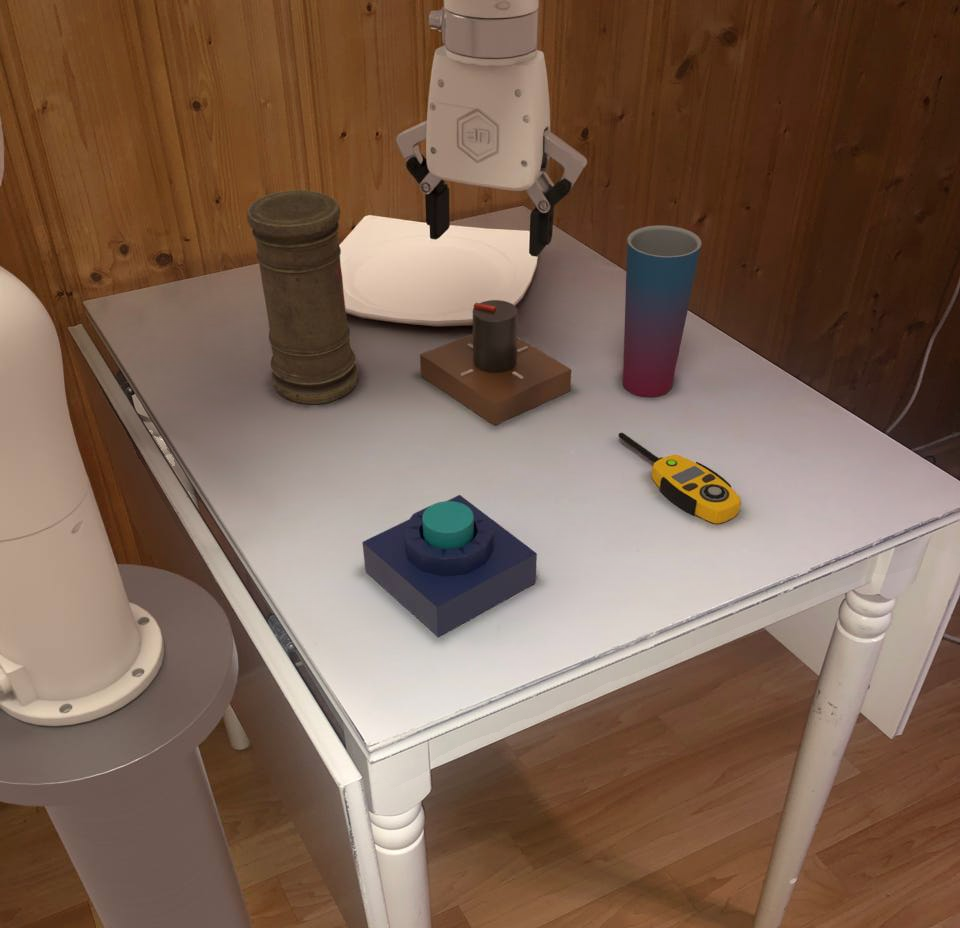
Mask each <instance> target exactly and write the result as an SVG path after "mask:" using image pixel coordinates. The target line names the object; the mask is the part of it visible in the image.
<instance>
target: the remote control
mask: <svg viewBox="0 0 960 928" xmlns="http://www.w3.org/2000/svg"><path fill="white" fill-rule="evenodd" d="M618 438H619V439H620V440H621V441H623V442H624V443H626V444H627V445H628V446H630V447H631V448H633V449H634V450H636V451H637V452H638V453H640V454H641V455H643V456H644V457H645V458H647V459H648V460H649V461H651V462H652V463H653V465H652V467H651V469H652V470H651V479H652V480H653V482H654V483H655V485H656V486H657V487H658V488H659V491H660V492H661V493H662V494H663V496H664V497H665V498H667V499H668V500H669V501H670V502H671V503H672V504H674V505H675V506H677V507H678V508H679V509H681V510H683V512H684V511H685V512H686V513H688V514H690V515H691V516H698V517H699V518H701V519H703V520H706V521H707V522H710V523H712V524H722V523H725V522H727V521H730V520H731V519H734V518H735V517H736V516H737V515H738V514H739V513H740V509H741V507H742V506H741V505H742V499H741V498H740V496H739V494H738V493H737V492H736V490H734V488H732V485H731V484H730V483H729V482H728V481H727V480H726V479H725V478H724V477H723V476H721V475H720V474H718V473H717V472H716V471H714V470H713V469H711V468H709V467H708V466H706V465H705V464H702V463H701V462H698V461H696V462H694V461H693V460H691V459H688V458H687V457H684V456H682V455H679V454H670V455H667V456H664V457H658V456H656V455H655V454H654V453H652V452H651V451H649V450H648V449H647V448H645V447H643V446H642V445H641V444H640V443H638V442H637V441H635V440H634V439H632V438H631V437H630V436H628V435H627V434H625V433H624V432H619V433H618Z"/></svg>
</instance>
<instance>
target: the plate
mask: <svg viewBox="0 0 960 928" xmlns="http://www.w3.org/2000/svg"><path fill="white" fill-rule="evenodd" d="M529 237H530V230H523V229H522V230H521V229H520V230H519V229H501V228H486V227H484V228H482V227H474V226H466V225H465V226H464V225H453V224H450V226H449V229H448V230H447V231H446V232H445V233H444V234H443V235H442V236H441V237H440V238H438V239H436V240H435V239H431V238H430V225H427V224H426V222H421V221H415V220H407V219H400V218H394V217H385V216H380V215H379V216H378V215H371V214H368V215H365V216H364V217H363V218H362V219H361V220H360V221H359V222H358V223H357V224H356V226H355V227H354V228H353V229H352V230H351V231H350V232H349V234H348V235H347V236H346V237H345V238H344V239H343V240H342V241H341V243H340V244H339V246H340V249H341V254H340V264H341V272H342V280H343V291H344V301H345V310H346V315H347V314H348V315H350V316H354V317H357V318H361V319H368V320H375V321H383V322H388V323H389V322H391V323H397V324H398V323H399V324H409V325H417V326H418V325H419V326H429V327H460V326H473V308H474V304H475V303H481V302H485V301H490V300H501V301H506V302H509V303H511V304H513V305H514V306H516V305H517V304H518V303H519V302H520V301H521V300H522V299H523V298H524V296H525V294H526V292H527V290H528V289H529V287H530V285H531V283H532V281H533V278H534V276H535V275H534V274H535V272H536V269H537V267H538V259H539V258H538V257H539V255H538V256H537V257H535V256H531V254H529Z"/></svg>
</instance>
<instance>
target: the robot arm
mask: <svg viewBox="0 0 960 928" xmlns="http://www.w3.org/2000/svg"><path fill="white" fill-rule="evenodd" d="M539 4H540V0H443V6H442V7H441V9H439V10H433V9H432V10H431V11H430V12H429V16H428V26H429V29H431V30H437V32H438V33H441V43H442V44H444V45H441V46H440V47H438V48H436V49H435V50H434V55H433V60H432V65H431V72H430V81H429V90H428V100H427V113H426V115H427V116H426V120H424V121H422V122H420V123H418V124H415V125H413V126H411V127H409V128H407V129H405V130H403V131H401V132H400V133H399V134H398V135H397V136H396V137H395V143H396V145H397V148H398V150H399V152H400V154H401V156H402V158H403V160H404V161H405V168H406V169H407V171H408V172H409V173H410V175H411V176H412V177H413V179H415V182H417V183H418V184H419V191H420V192H421V193H422V194H423V195H424V196H425V197H424V198H425V199H424V200H425V202H424V203H425V223H426V224H427V225H430V238H431V239H435V240H436V239H438V238H440V237H441V236H442V235H443V234H444V233H445V232H446V231H447V230H448V229H449V226H450V225H451V221H450V220H451V218H450V212H451V211H450V187H448V186H449V185H448V184H447V183H445V181H448V182H452V183H458V184H464V185H469V186H470V185H471V186H476V187H485V188H490V189H497V190H503V191H510V192H511V191H512V192H523V191H525V192H526V194H527V195H528V197H529V199H530V200H531V202H532V203H533V204H534V208H533V209H532V211H531V213H530V214H529V215H530V216H529V231H530V237H529V254H531V256H535V257H537V256H538V257H539V255H540V253H541V252H542V251H543V250H544V249H545V248H546V246H549V245H550V243H551V242H552V239H553V232H554V231H553V228H554V211H555V210H554V209H555V206H556V205H557V204H558V203H560V201H562V200H563V199H564V198H565V197H566V196H567V195H568V194H569V193H570V192H571V191H572V189H573V188H574V187H575V185H576V183H577V182H578V180H579V179H580V177H581V175H582V174H583V172H584V170H585V169H586V167H587V165H588V160H587V158H586V157H585V156H584V155H583V154H582V153H580V152H579V151H578V150H576V149H575V148H573V146H570V145H569V144H568V143H567V142H565V141H564V140H563V139H561V138H559V136H557V135H555V134H554V133H553V132H552V131H551V107H550V91H549V83H548V82H549V81H548V72H547V66H546V60H545V54H544V52H543V51H542V50H538V30H539V27H538V26H539V7H540V6H539ZM423 141H425V155H424V154H422V153H421V149H420V147H419V143H421V142H423ZM4 142H5V141H4V132H3V125H2V118H1V115H0V187H1V186H2V183H3V178H4V172H5V144H4ZM550 158H551V159H553V160H554V161H555V162H557V163H558V164H559V165H561V166H562V168H563V174H562V176H561V177H560V180H558V181H557V182H556V183H555V184H554V182H553V180H552V179H551V177H549V175H548V173H547V170H548V168H549V166H550V165H549V164H550ZM77 442H78V441H77V438H76V436H75V431H74V427H73V424H72V420H71V415H70V411H69V405H68V400H67V394H66V385H65V373H64V364H63V355H62V349H61V343H60V338H59V336H58V332H57V330H56V326H55V324H54V322H53V320H52V318H51V316H50V313H49V312H48V310H47V309H46V307H45V306H44V304H43V302H42V301H41V300H40V299H39V298H38V296H37V295H36V294H35V293H34V292H33V291H32V289H30V287H28V286H27V284H25V283H24V282H23V281H21V280H20V279H19V278H18V277H16V275H14V274H13V273H11V272H10V271H9V270H7V269H6V268H4V267H3V266H1V265H0V708H1V709H2V710H4V711H5V712H6V713H7V714H9V715H10V716H12V717H14V718H16V719H19V720H21V721H23V722H27V723H31V724H36V725H45V726H63V725H73V724H78V723H83V722H87V721H91V720H94V719H97V718H99V717H102V716H105V715H108V714H110V713H112V712H114V711H115V710H117V709H119V708H121V707H123V706H125V705H126V704H128V703H129V702H130V701H132V700H133V699H135V698H136V697H137V696H138V695H139V694H141V693H142V692H143V691H144V690H145V689H146V688H147V687H148V686H149V684H150V683H151V682H152V681H153V679H154V678H155V677H156V675H157V673H158V671H159V669H160V667H161V665H162V662H163V657H164V653H165V651H164V640H163V637H162V633H161V630H160V627H159V626H158V624H157V622H156V620H155V619H154V618H153V617H152V616H151V615H150V614H149V613H148V612H147V611H146V610H144V609H143V608H141V607H140V606H138V605H136V604H133V603H130V602H129V601H128V598H127V594H126V591H125V588H124V585H123V582H122V579H121V576H120V573H119V570H118V567H117V564H118V563H117V561H116V558H115V555H114V552H113V548H112V546H111V545H112V544H111V542H110V540H109V535H108V533H107V531H106V527H105V524H104V521H103V518H102V515H101V511H100V508H99V506H98V502H97V500H96V497H95V493H94V491H93V487H92V485H91V481H90V478H89V475H88V474H87V471H86V467H85V465H84V461H83V458H82V455H81V452H80V449H79V446H78V443H77Z"/></svg>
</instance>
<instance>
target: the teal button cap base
mask: <svg viewBox="0 0 960 928" xmlns="http://www.w3.org/2000/svg"><path fill="white" fill-rule="evenodd" d="M447 501H454V502H459V503H462V504H464V505H466V506H467V507H469V508H470V509H471V511H472V512H473V516H474V535H473V538H472V540H471V541H470V542H469V543H468V544H466V545H464V546H462V547H459V548H449V549H443V548H439V547H435V546H431V545H429V544H428V543H427V542H426V541H425V539H424V536H423V520H422V516H423V513H424V511H425V510H426V509H427V508H428V507H429V506H427V507H425V508H422V509H420V510H419V511H416V512H414V513H413V514H412V515H411V516H410V517H409V519H406V520H405V521H403V522H401V523H398V524H396V525H394V526H392V527H390V528H388V529H386V530H384V531H382V532H380V533H378V534H376V535H374V536H372V537H370V538H368V539H365V540H363V541H362V550H363V551H362V553H363V560H364V571H365V573H366V574H368V575H369V577H370V578H372V579H373V580H375V582H376V583H377V584H379V585H380V587H382V588H383V589H384V590H385V591H386V592H387V593H389V595H391V596H392V597H393V598H394V599H395V600H396V601H397V602H398V603H400V604H401V605H402V606H403V608H405V609H407V610H408V611H409V612H410V613H411V614H412V615H413V616H414V617H415V618H416V619H417V620H419V621H420V622H421V624H423V625H424V627H426V628H427V629H429V631H430V632H432V633H433V634H434V635H435V636H436V637H438V638H440V637H441V636H443V635H445V634H447V633H449V632H451V631H452V630H454V629H456V628H458V627H460V626H461V625H463V624H465V623H466V622H469V621H470V620H472V619H474V618H476V617H478V616H479V615H481V614H483V613H485V612H486V611H488V610H490V609H492V608H494V607H495V606H497V605H499V604H501V603H503V602H505V601H506V600H508V599H510V598H512V597H514V596H515V595H518V594H519V593H521V592H523V591H524V590H526V589H527V588H530V587H532V586H533V585H536V581H537V563H538V561H537V560H538V559H537V557H538V553H537V552H536V551H534V550H533V549H532V548H531V547H529V546H528V545H526V544H525V543H524V542H523V541H522V540H520V539H518V537H516V536H515V535H513V534H512V533H511V532H509V530H507V529H506V528H504V527H503V526H501V524H499V523H498V522H497V521H495V520H494V519H493V518H492V517H490V516H489V515H487V514H486V513H484V512H483V511H482V510H481V509H479V507H477V506H475V505H474V504H472V502H470V501H469V500H468V499H466V498H465V497H463V496H462V495H461V494H458V495H456V496H454V497H452V498H450V499H448V500H447Z"/></svg>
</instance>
